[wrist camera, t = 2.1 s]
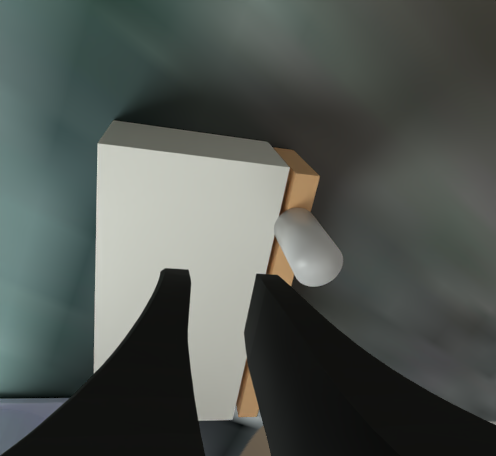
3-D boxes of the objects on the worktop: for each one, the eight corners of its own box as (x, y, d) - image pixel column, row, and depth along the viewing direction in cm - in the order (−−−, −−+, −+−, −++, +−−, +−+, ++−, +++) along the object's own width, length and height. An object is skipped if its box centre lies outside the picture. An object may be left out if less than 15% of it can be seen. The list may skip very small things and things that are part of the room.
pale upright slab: (221, 375, 25) (229, 432, 21) (104, 375, 23) (92, 437, 20) (267, 141, 19) (289, 167, 15) (113, 120, 17) (97, 143, 14)
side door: (251, 362, 25) (276, 471, 19) (222, 362, 24) (239, 473, 18) (301, 151, 19) (361, 207, 13) (265, 146, 19) (309, 201, 13)
